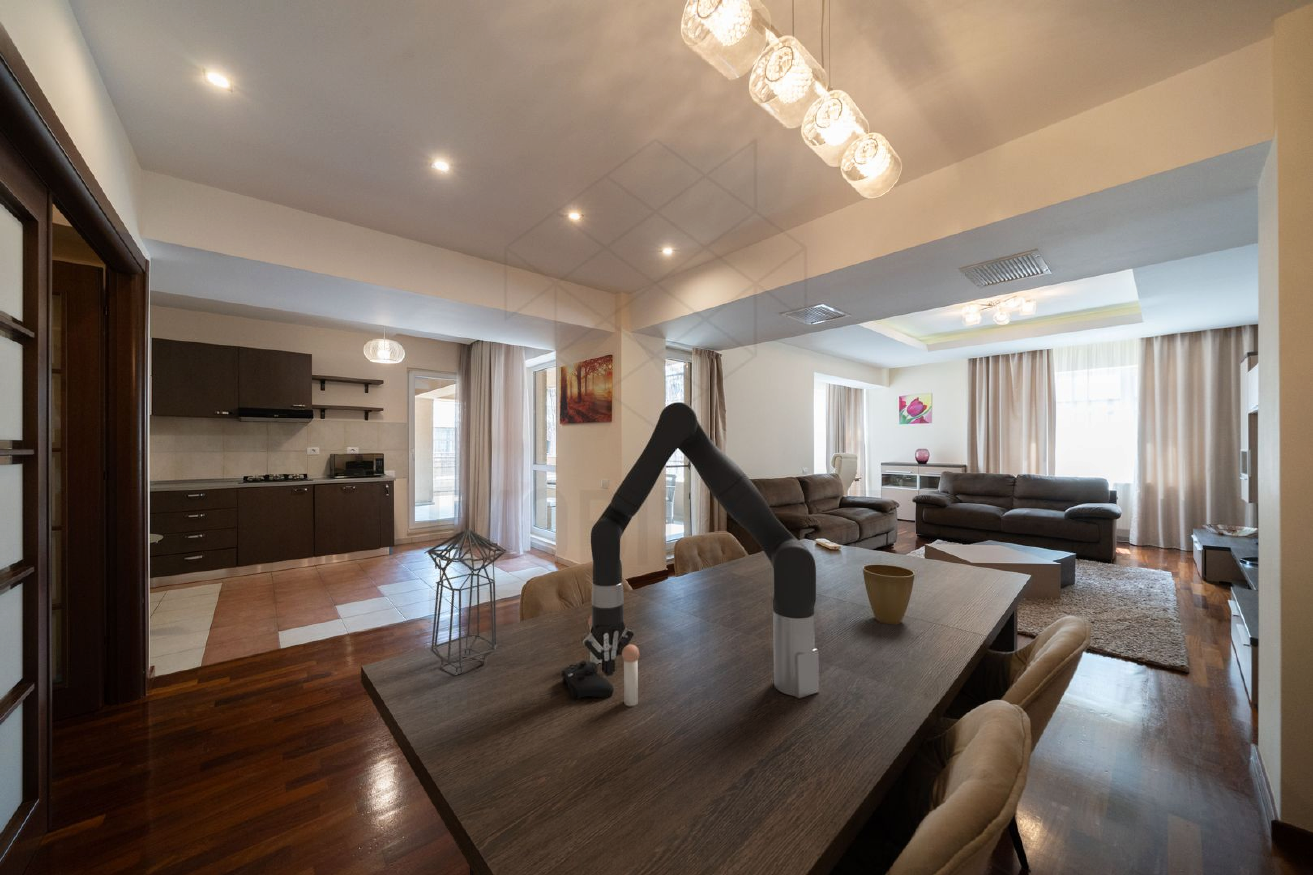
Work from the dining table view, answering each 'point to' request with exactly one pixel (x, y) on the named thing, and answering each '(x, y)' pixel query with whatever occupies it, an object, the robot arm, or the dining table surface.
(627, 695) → the posts
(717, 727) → the dining table surface
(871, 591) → the plant pot
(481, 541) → the geometric lantern
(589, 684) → the gaming controller
